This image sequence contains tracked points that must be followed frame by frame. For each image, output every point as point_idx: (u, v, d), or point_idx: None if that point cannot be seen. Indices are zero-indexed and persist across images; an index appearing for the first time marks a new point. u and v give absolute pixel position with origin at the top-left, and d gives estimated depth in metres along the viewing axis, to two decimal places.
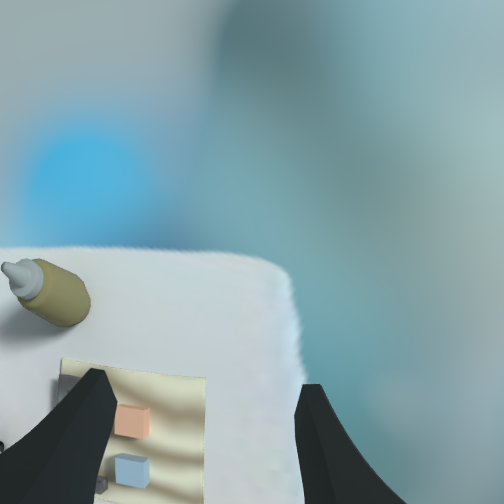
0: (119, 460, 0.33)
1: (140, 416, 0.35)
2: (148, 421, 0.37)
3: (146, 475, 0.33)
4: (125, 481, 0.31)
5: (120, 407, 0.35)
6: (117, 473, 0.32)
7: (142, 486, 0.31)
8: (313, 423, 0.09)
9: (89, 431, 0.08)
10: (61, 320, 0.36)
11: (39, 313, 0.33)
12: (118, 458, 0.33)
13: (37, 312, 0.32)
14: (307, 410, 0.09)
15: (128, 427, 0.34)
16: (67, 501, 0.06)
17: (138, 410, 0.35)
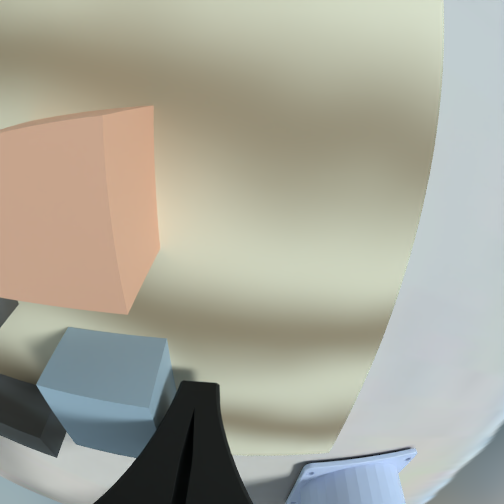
0: (54, 394, 0.08)
1: (87, 168, 0.05)
2: (149, 183, 0.08)
3: None
4: (101, 445, 0.10)
5: None
6: (68, 426, 0.09)
7: None
8: (194, 421, 0.08)
9: (191, 448, 0.09)
10: None
11: None
12: (49, 386, 0.08)
13: None
14: None
15: (33, 256, 0.06)
16: None
17: (67, 127, 0.05)
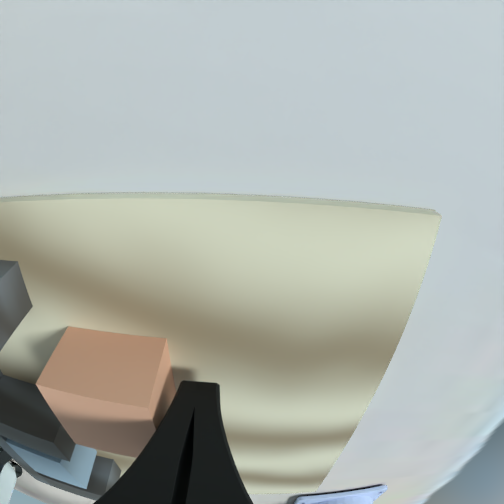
0: (16, 447, 0.11)
1: (142, 422, 0.08)
2: (170, 383, 0.11)
3: (81, 461, 0.14)
4: (48, 474, 0.13)
5: (55, 390, 0.08)
6: (27, 462, 0.12)
7: (81, 486, 0.13)
8: (194, 421, 0.08)
9: (191, 448, 0.09)
10: None
11: None
12: (12, 443, 0.11)
13: None
14: None
15: (107, 439, 0.09)
16: None
17: (126, 406, 0.08)
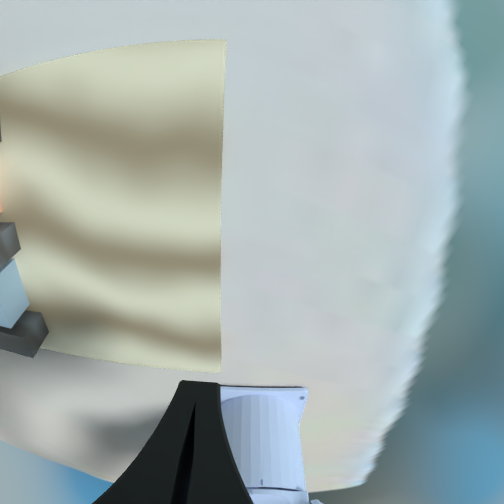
0: None
1: None
2: None
3: (11, 298, 0.18)
4: None
5: None
6: None
7: (7, 324, 0.17)
8: (195, 421, 0.08)
9: (190, 448, 0.08)
10: None
11: None
12: None
13: None
14: None
15: None
16: None
17: None
